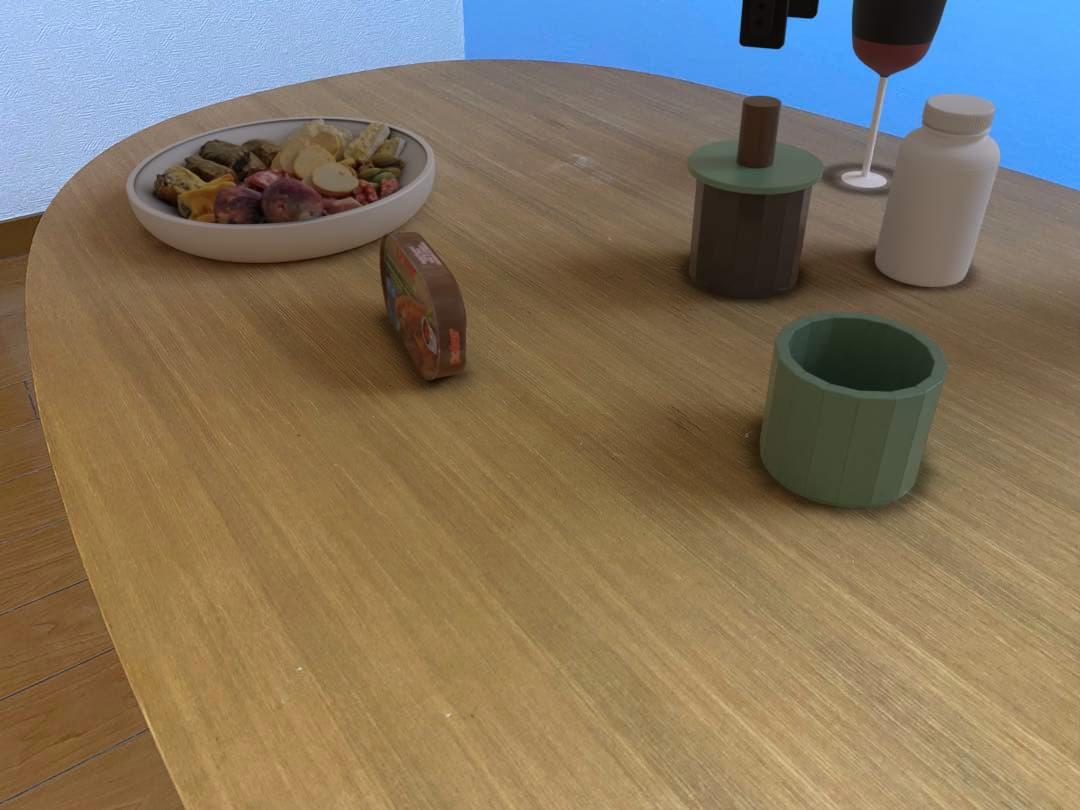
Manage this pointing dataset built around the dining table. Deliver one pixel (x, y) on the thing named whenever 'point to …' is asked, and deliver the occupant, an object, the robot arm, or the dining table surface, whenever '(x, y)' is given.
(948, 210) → the pill bottle
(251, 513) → the dining table surface
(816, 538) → the dining table surface
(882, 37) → the wineglass
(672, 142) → the dining table surface
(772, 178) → the lid
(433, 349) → the tin
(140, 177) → the bowl
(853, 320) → the can
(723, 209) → the cup
